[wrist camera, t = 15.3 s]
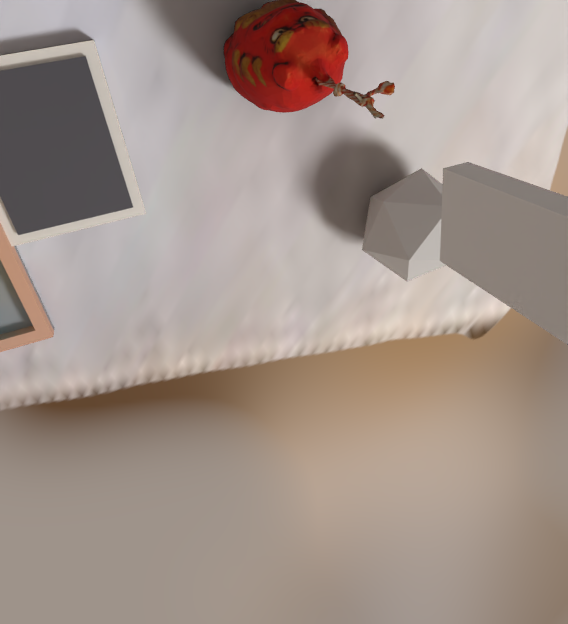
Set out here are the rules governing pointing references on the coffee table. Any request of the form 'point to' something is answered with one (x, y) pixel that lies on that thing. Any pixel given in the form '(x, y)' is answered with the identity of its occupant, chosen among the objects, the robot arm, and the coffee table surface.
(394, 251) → the die
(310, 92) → the red clay folk toy
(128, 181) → the ink pad
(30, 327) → the square tray
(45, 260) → the coffee table surface
